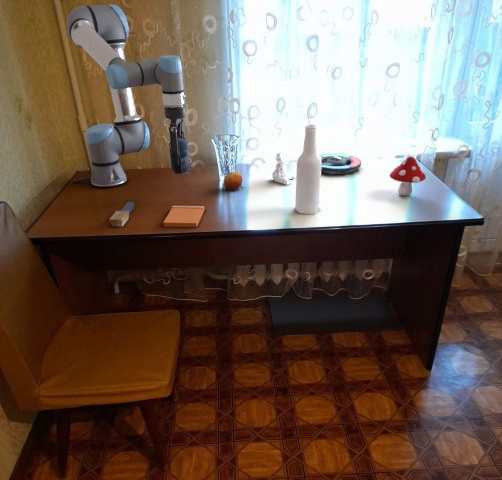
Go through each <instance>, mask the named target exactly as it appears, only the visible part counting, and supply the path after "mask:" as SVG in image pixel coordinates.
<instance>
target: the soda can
mask: <svg viewBox="0 0 502 480" xmlns="http://www.w3.org/2000/svg"><path fill="white" fill-rule="evenodd" d="M186 139H187V138H186V137H185V138H183V137H182V138H179V144H180V156H181V164H182V175H183V174H187V173H189V170H190V167H191V166H190V157H189V145H188V141H187V140H186ZM168 147H169V156H170V165H171V166H170V167H171V170H172V172H173V173H174V174H175V169H174V160H173V156H171V144H170V142H169V144H168ZM175 153H176V152H175Z"/></svg>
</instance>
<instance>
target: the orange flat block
mask: <svg viewBox="0 0 502 480" xmlns="http://www.w3.org/2000/svg"><path fill="white" fill-rule="evenodd" d="M204 213H205V206H203V205H172V207H171V209H170V211H169V213H168V214H167V216H166V217H165V219H164V221H163V222H162V223H163V227H165V228H168V227H169V228H170V227H171V228H197V227H198V225H199V223H200V221H201V219H202V217H203V214H204Z"/></svg>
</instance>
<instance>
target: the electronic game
mask: <svg viewBox="0 0 502 480" xmlns="http://www.w3.org/2000/svg"><path fill="white" fill-rule="evenodd" d="M318 155H319V157H320V158H321V163H322V165H321V173H324V174H328V175H329V174H331V175H343V174H349V173H352V172H355V171H356V170H358V169H359V168H360V167H361V166H362V161H361V160H360V159H359V158H358V157H357V156H354V155H350V154H346V153H345V154H344V153H323V154H318Z"/></svg>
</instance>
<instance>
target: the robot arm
mask: <svg viewBox="0 0 502 480" xmlns="http://www.w3.org/2000/svg"><path fill="white" fill-rule="evenodd" d="M65 28H66V33H67V35H68V37H69V39H70V41H72V43H74V45H75V46H76V47H78V48H81V49H83V50H84V52H86V53H87V54H88V55H89V56H90V57H91V58H92V59H93V60H94V62H96V63H97V64H98V65H99V66H100V68H101V69H103V70H104V72H105V78H106V81H107V83H108V86H109V89H110V95H111V100H112V103H113V107H114V108H113V109H114V112H115V118H114V120H113V124H114V125H113V124H112V123H109V122H108V123H107V122H106V123H104V122H103V123H99V124H95V125H93V126H90V127H88V128H87V129H86V131H85V139H86V145H87V149H88V153H89V154H88V155H89V158H90V162H91V173H90V177H86V178H82V179H78V180H73V181H72V182H73V184H78V183H82V182H87V181H90V182H91V186H93V187H95V188H99V189H112V188H117V187H121V186H123V185H125V184H126V183H127V182H128V178H127V175H126V173H125V171H124V169H123V166H122V165H121V162H120V157H119V156H124V155H128V154H129V155H130V154H133V153H139V152H142V151H145V150H146V149H148V147H149V145H150V141H151V135H150V130H149V127H148V124H147V123H146V122H145V121H143V120H142V117H141V116H140V115H139V114H138V113H137V110H136V105H135V100H134V95H133V90H132V88H137V87H145V86H151V85H152V86H153V85H160V86H161V91H162V92H161V93H162V102H163V106H164V107H163V110H164V111H163V112H164V118H166V119H167V120H170V123H169V127H168V133H169V143H170V144H171V156H173V160H174V169H175V173H174V174H175V175H176V174H179V175H181V174H182V164H181V156H180V144H179V138H182V137H183V138H185V139H186V134H185V125H184V124H185V123H184V118H186V116H187V115H186V106H185V103H186V102H185V99H186V95H184V91H185V90H184V77H183V67H182V59H181V57H180V56H178V55H171V54H170V55H169V54H168V55H161V56H159V57H158V59H156V58H147V59H145V60H142V61H141V60H140V61H134V62H133V61H131V62H127V61H126V60H127V59H126V56H125V50H124V48H125V46H126V45H127V42H126V39H128V38H129V34H130V33H129V31H130V28H129V23H128V19H127V17H126V14H125V13H124V11H123V10H122V9H121V8H120V7H119V6H118V5H117V4H108V3H105V4H91V5H79V6H76V7H74V8H73V9H71V10H70V12H69V13H68V15H67V17H66V22H65ZM175 152H176V153H175ZM182 175H183V174H182Z"/></svg>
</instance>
